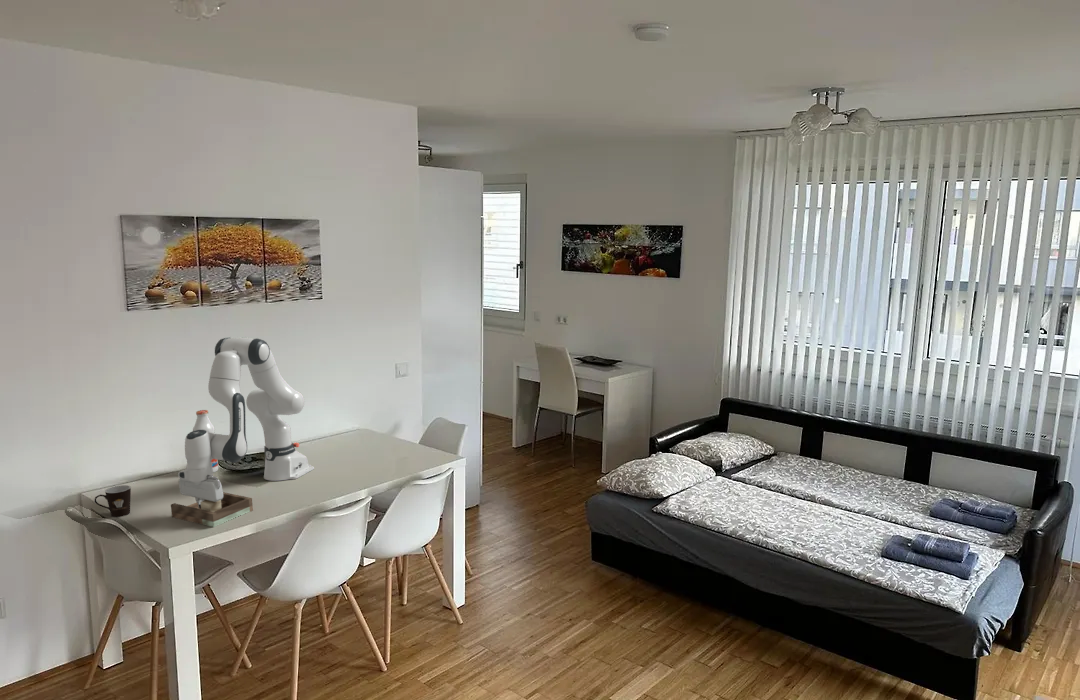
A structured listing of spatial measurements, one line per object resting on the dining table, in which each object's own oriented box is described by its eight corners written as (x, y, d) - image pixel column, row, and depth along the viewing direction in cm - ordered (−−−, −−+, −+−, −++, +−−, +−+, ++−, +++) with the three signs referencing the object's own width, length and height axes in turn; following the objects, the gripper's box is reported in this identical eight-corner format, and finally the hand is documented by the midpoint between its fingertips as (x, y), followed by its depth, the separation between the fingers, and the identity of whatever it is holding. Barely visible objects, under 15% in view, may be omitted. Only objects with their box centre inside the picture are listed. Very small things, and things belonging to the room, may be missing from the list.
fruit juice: (213, 466, 341) (208, 407, 336) (222, 470, 335) (217, 410, 330) (192, 471, 334) (186, 411, 330) (201, 475, 328) (195, 414, 323)
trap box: (171, 517, 280) (170, 504, 279) (211, 501, 296) (210, 489, 295) (214, 527, 270) (212, 514, 269) (252, 510, 286) (252, 498, 285)
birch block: (212, 510, 281) (211, 497, 280) (221, 512, 278) (221, 500, 277) (201, 514, 276) (200, 501, 275) (210, 517, 274) (209, 504, 273)
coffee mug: (137, 509, 288) (135, 485, 287) (126, 517, 280) (123, 492, 278) (107, 510, 288) (104, 485, 287) (95, 518, 280) (92, 493, 278)
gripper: (226, 474, 275) (228, 510, 277) (189, 467, 285) (192, 501, 287) (211, 479, 270) (214, 516, 272) (174, 472, 279) (178, 507, 281)
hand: (203, 508), depth 279 cm, fingers closed
